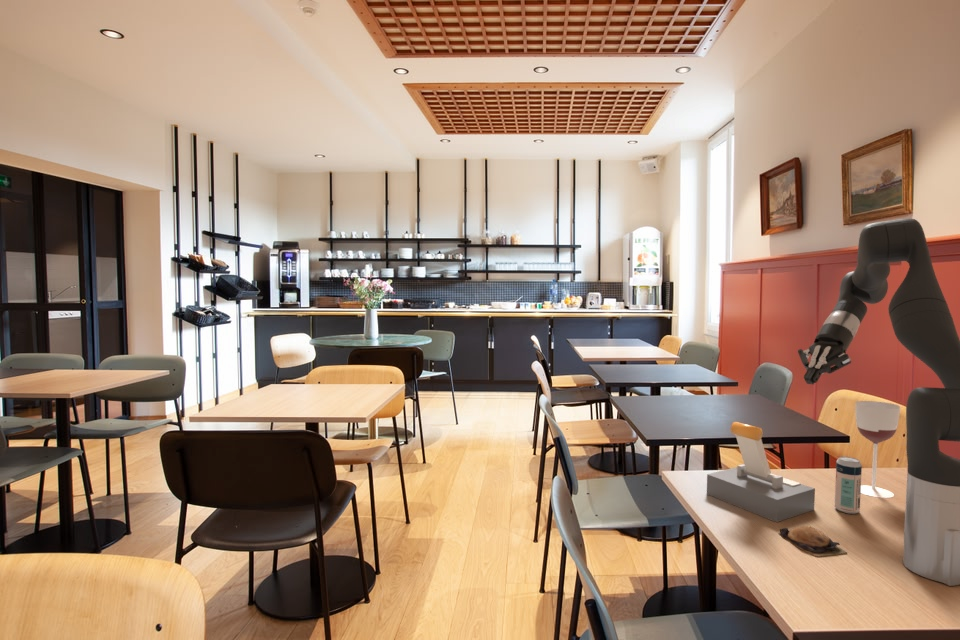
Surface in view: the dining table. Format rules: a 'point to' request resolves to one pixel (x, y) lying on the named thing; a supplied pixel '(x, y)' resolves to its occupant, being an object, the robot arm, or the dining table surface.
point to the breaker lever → (752, 451)
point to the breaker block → (761, 493)
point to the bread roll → (812, 541)
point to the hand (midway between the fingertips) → (808, 382)
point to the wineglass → (876, 434)
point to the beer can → (848, 485)
